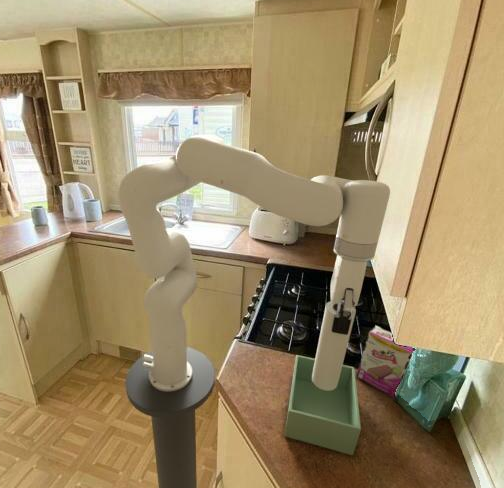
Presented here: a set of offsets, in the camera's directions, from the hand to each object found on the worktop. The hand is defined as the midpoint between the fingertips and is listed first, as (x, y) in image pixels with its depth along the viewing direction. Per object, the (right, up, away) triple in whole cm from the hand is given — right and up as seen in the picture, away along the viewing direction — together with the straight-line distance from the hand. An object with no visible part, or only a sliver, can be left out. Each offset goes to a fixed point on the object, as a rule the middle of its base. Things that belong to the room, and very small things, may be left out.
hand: (338, 320), depth 68 cm
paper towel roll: (-1, -16, +7) cm, 18 cm away
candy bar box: (+19, -22, +21) cm, 36 cm away
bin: (-1, -26, +12) cm, 28 cm away
